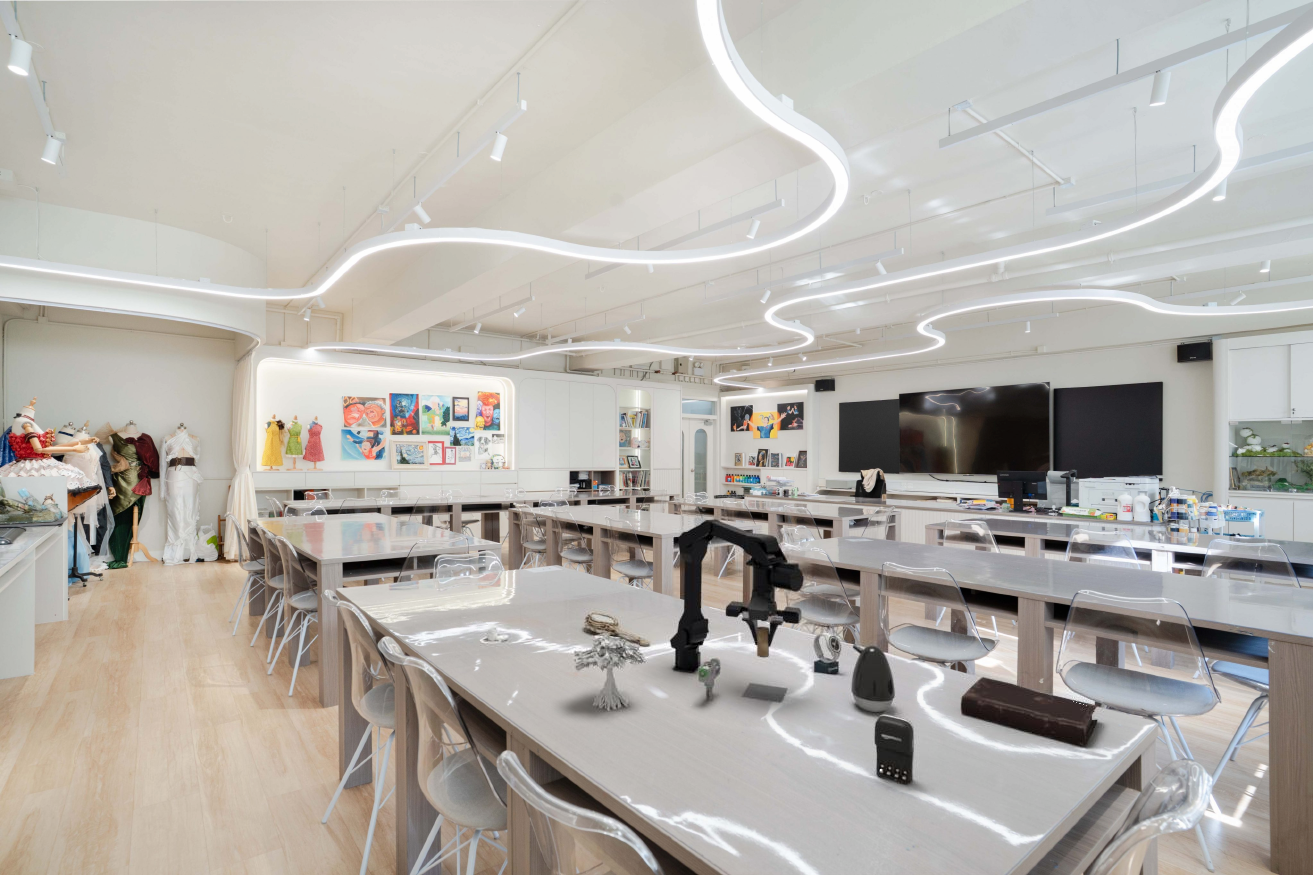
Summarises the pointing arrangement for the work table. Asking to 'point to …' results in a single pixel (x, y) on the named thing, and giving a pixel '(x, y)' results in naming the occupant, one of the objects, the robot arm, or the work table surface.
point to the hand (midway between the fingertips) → (763, 645)
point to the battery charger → (894, 748)
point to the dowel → (762, 641)
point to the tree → (609, 665)
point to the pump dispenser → (872, 680)
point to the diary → (1030, 711)
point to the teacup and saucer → (493, 636)
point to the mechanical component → (709, 675)
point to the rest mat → (765, 692)
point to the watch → (825, 663)
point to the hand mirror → (609, 627)
